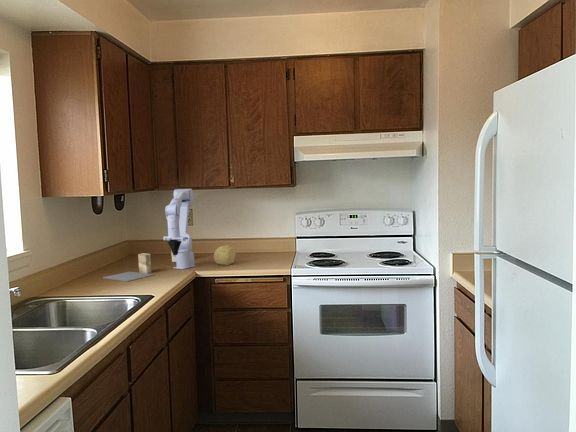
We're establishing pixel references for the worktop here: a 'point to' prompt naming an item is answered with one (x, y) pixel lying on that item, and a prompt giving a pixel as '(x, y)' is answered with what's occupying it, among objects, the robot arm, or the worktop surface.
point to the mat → (128, 276)
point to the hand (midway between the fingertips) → (175, 254)
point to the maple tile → (144, 263)
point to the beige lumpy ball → (225, 255)
